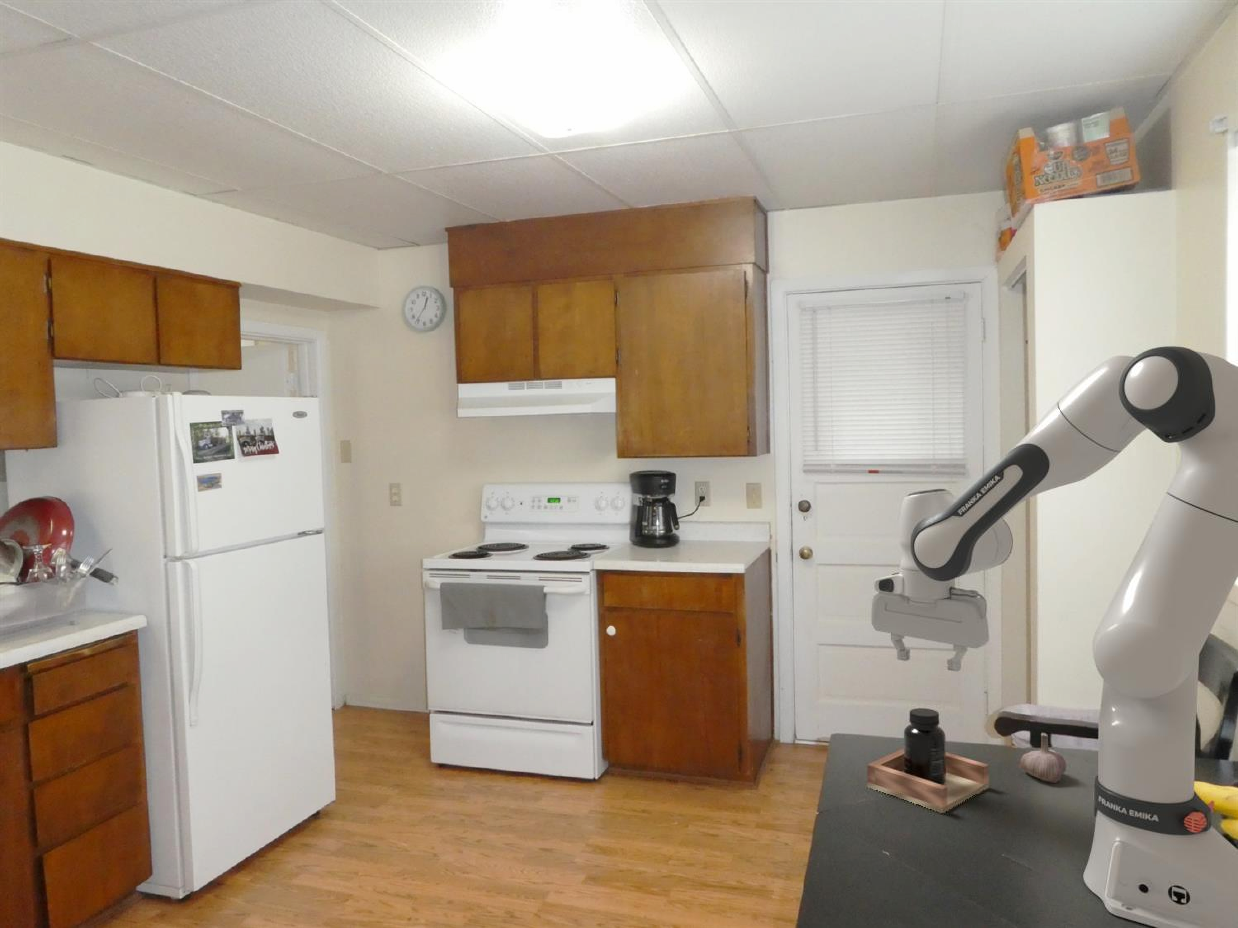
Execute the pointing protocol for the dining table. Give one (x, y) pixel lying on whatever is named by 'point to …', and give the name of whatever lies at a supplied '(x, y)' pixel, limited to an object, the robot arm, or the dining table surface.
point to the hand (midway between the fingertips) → (928, 665)
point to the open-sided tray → (958, 787)
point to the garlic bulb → (1044, 762)
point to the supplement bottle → (925, 746)
